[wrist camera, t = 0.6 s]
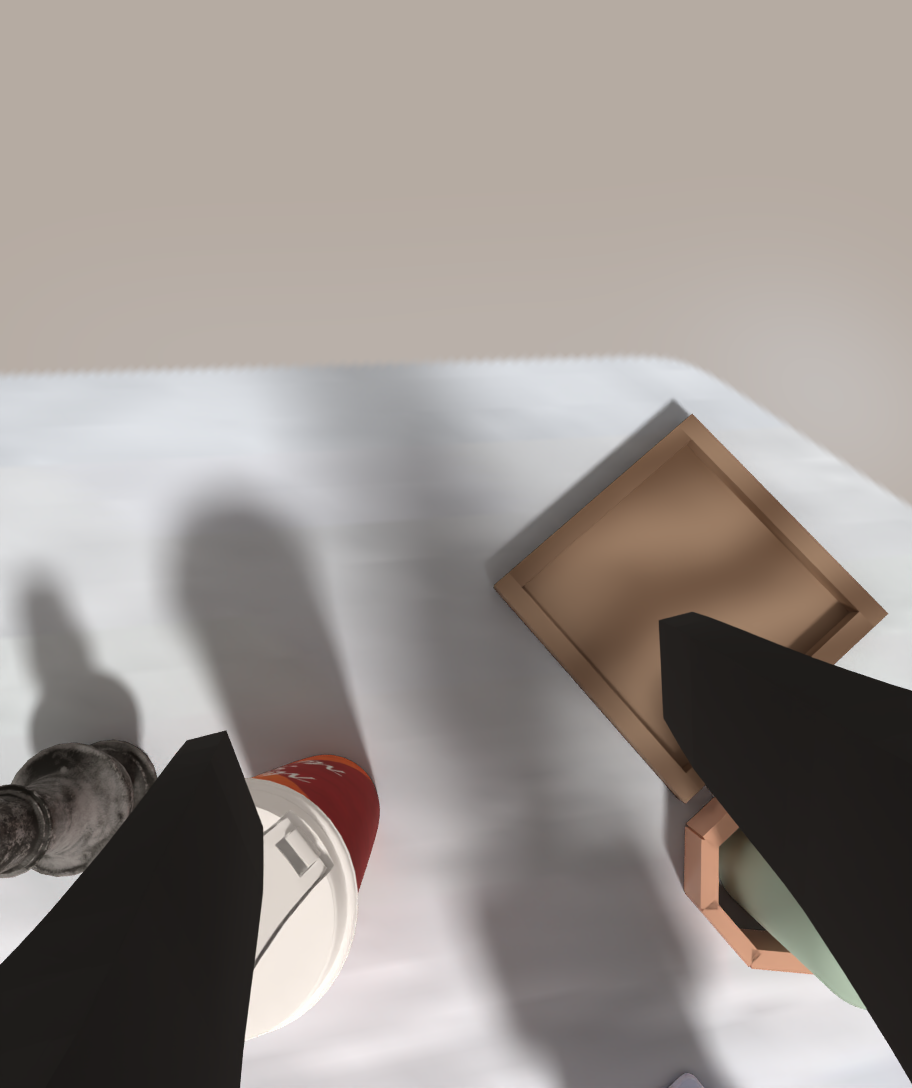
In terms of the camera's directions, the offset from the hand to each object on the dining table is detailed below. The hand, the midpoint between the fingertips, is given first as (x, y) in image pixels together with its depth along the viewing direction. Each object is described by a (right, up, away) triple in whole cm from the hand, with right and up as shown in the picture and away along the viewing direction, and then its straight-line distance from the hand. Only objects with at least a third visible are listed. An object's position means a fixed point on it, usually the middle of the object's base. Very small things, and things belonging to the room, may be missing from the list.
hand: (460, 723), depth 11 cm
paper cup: (-7, -11, +23) cm, 26 cm away
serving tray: (+12, 0, +24) cm, 27 cm away
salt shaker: (-18, -10, +23) cm, 31 cm away
